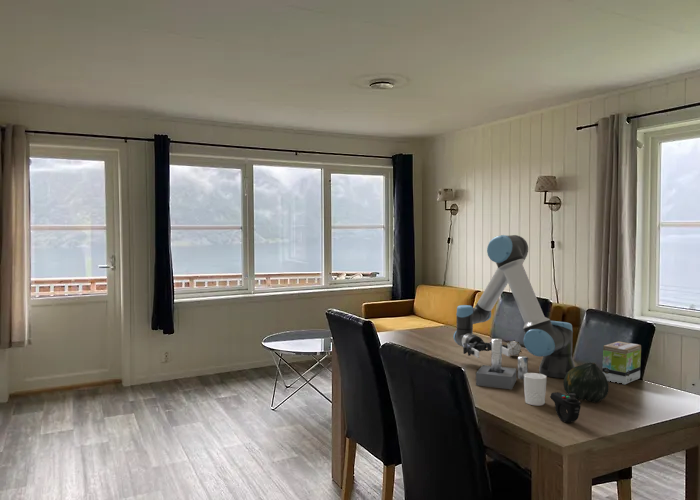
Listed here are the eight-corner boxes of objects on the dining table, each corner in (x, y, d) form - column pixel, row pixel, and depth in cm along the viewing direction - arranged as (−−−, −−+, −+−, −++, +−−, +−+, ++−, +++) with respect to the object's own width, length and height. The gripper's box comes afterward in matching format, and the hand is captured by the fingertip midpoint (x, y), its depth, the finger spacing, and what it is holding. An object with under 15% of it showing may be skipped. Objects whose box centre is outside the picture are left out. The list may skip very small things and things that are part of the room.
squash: (556, 377, 207) (567, 354, 197) (595, 379, 207) (608, 356, 196) (565, 410, 197) (577, 388, 187) (606, 412, 197) (620, 390, 186)
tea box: (626, 385, 215) (627, 349, 214) (601, 380, 223) (601, 345, 222) (640, 378, 225) (641, 343, 224) (616, 373, 232) (616, 340, 232)
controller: (571, 428, 169) (571, 397, 169) (548, 414, 181) (548, 385, 181) (583, 426, 170) (583, 395, 170) (559, 413, 182) (559, 385, 182)
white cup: (547, 406, 189) (548, 379, 189) (524, 405, 191) (525, 378, 190) (544, 400, 197) (544, 373, 196) (522, 398, 198) (522, 372, 198)
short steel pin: (528, 377, 227) (528, 356, 226) (527, 379, 223) (527, 358, 223) (518, 376, 228) (518, 355, 228) (517, 378, 225) (517, 357, 224)
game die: (510, 364, 263) (499, 348, 262) (512, 354, 271) (501, 339, 270) (526, 357, 259) (515, 341, 258) (527, 348, 266) (516, 332, 265)
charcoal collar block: (516, 380, 222) (516, 368, 222) (511, 389, 210) (511, 376, 210) (482, 376, 228) (482, 364, 228) (475, 385, 216) (476, 373, 215)
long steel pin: (502, 381, 220) (502, 338, 219) (500, 384, 216) (500, 340, 216) (492, 380, 222) (492, 338, 221) (490, 383, 218) (490, 339, 217)
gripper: (498, 350, 244) (521, 361, 223) (446, 352, 239) (465, 364, 218) (498, 333, 243) (521, 343, 222) (446, 335, 239) (465, 346, 218)
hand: (493, 353), depth 220 cm, fingers open, 13 cm apart
